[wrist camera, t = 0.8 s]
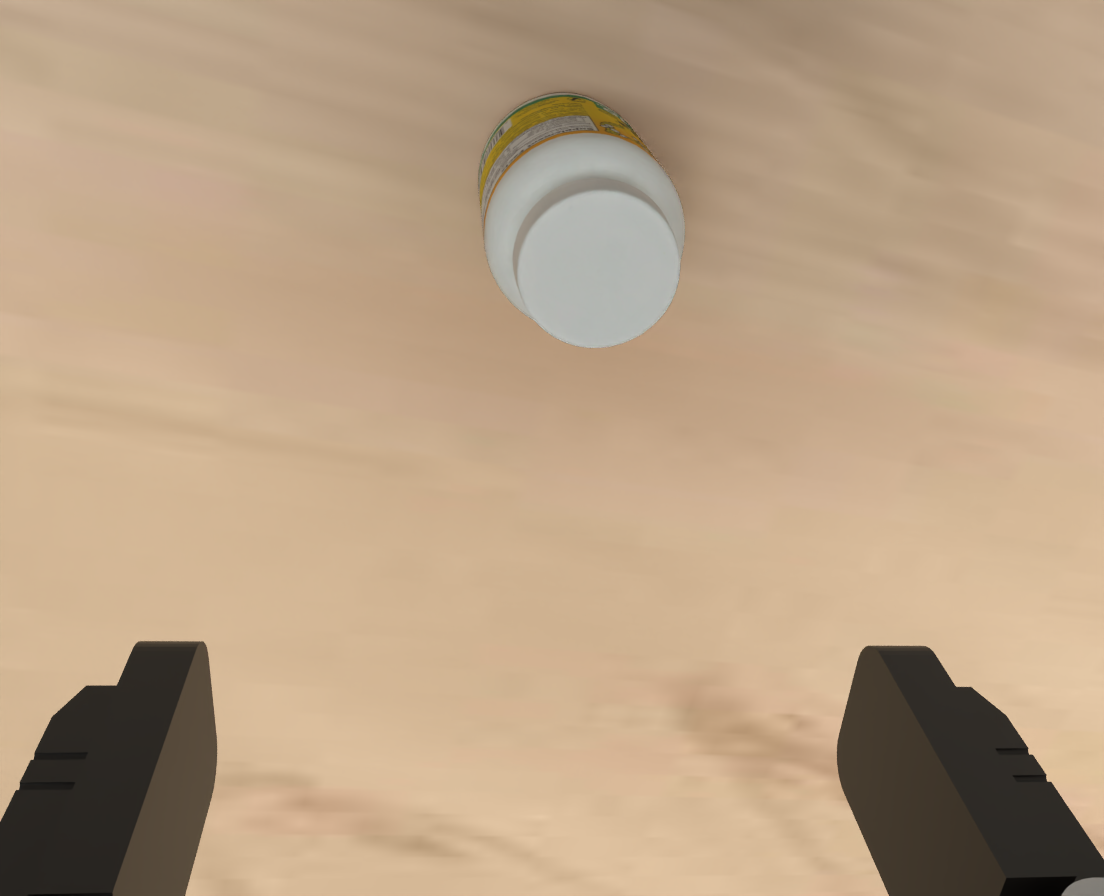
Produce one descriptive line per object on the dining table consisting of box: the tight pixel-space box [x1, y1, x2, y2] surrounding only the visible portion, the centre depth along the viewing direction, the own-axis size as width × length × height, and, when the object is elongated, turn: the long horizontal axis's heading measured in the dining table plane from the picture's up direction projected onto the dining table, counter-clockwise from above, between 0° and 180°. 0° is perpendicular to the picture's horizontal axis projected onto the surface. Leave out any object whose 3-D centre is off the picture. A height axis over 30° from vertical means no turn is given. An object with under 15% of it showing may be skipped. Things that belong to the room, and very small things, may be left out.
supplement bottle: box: [478, 93, 685, 348], centre depth 29 cm, size 5×5×10 cm
